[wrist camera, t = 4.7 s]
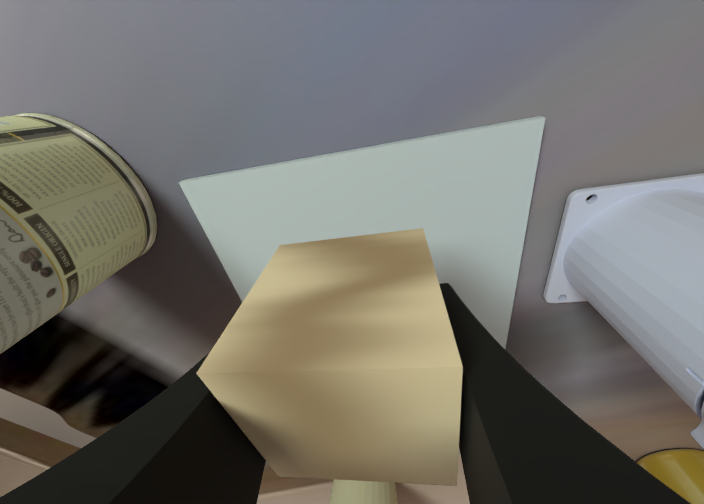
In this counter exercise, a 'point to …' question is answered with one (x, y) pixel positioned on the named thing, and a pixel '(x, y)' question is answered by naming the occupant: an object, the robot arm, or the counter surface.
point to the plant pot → (678, 471)
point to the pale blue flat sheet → (389, 207)
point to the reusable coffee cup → (363, 492)
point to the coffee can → (62, 219)
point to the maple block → (345, 363)
